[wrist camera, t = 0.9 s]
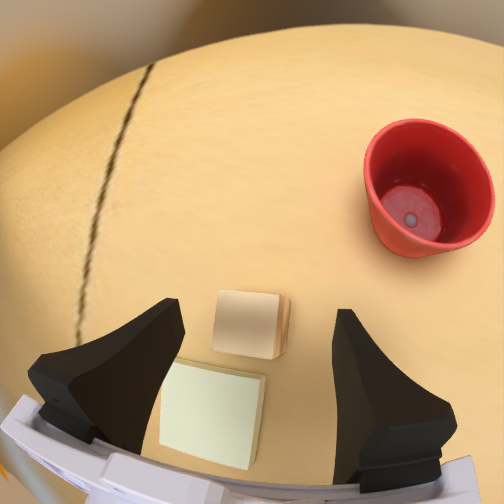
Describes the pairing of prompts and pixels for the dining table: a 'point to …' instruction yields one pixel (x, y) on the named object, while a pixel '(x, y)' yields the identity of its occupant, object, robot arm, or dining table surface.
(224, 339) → the maple block
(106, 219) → the dining table surface
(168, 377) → the base block
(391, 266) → the dining table surface
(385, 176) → the flower pot
